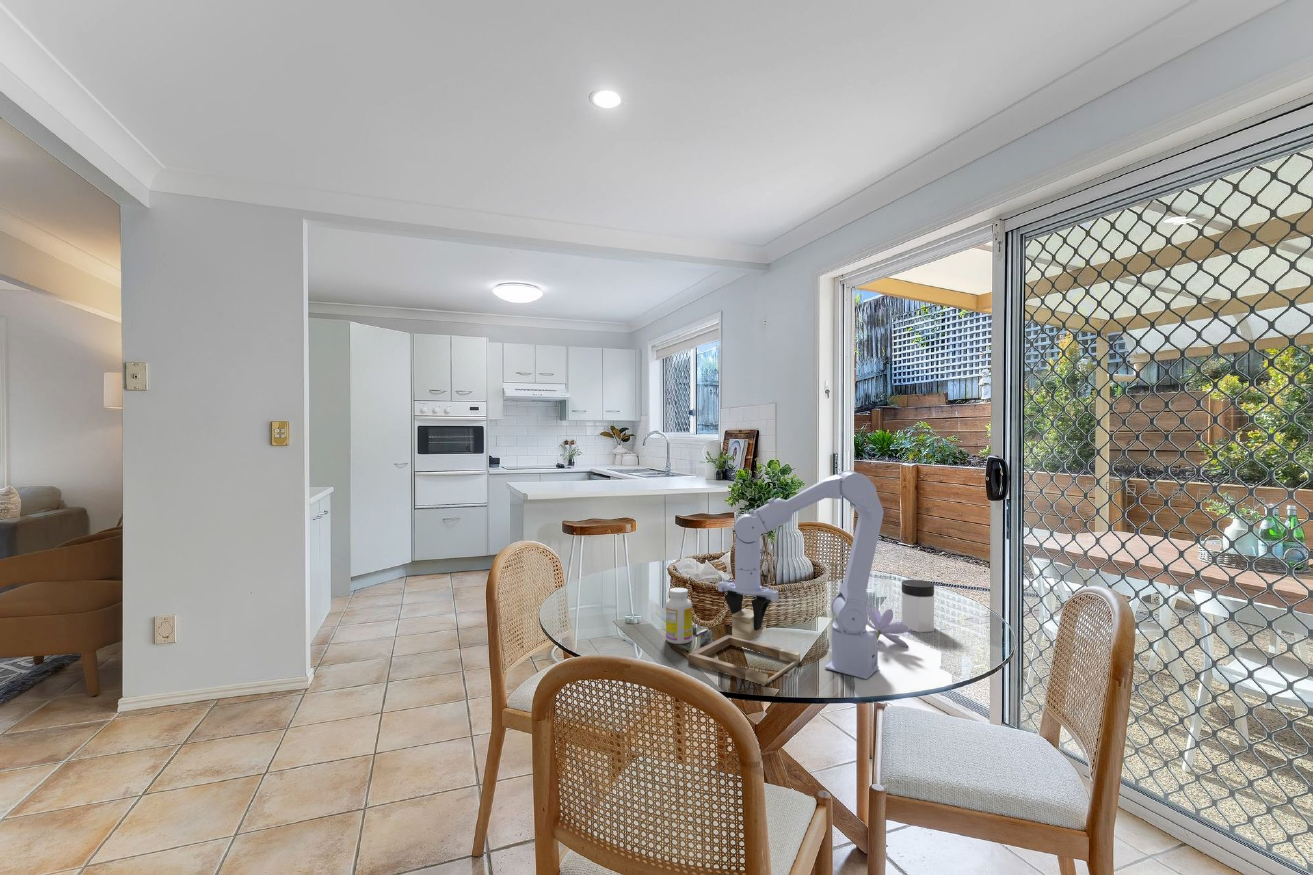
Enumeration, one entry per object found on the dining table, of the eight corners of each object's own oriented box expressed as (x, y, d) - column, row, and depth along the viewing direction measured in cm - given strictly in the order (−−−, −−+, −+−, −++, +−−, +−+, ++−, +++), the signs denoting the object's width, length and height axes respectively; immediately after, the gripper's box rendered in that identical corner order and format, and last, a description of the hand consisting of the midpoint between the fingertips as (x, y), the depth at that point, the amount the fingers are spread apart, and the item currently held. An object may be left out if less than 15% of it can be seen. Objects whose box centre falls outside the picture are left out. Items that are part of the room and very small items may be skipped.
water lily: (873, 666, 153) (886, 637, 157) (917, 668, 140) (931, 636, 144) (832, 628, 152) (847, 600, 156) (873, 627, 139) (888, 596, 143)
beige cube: (762, 633, 138) (762, 611, 138) (749, 641, 133) (749, 618, 133) (745, 629, 141) (745, 607, 141) (731, 636, 136) (731, 614, 136)
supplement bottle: (690, 635, 155) (691, 586, 155) (693, 644, 149) (693, 593, 149) (664, 635, 155) (665, 586, 155) (666, 645, 149) (666, 593, 148)
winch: (704, 641, 151) (704, 619, 151) (714, 643, 149) (714, 622, 149) (688, 649, 146) (688, 627, 146) (698, 652, 144) (698, 629, 144)
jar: (940, 628, 162) (941, 584, 162) (926, 635, 157) (926, 589, 156) (909, 620, 169) (909, 577, 169) (893, 626, 164) (894, 582, 163)
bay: (800, 661, 138) (800, 653, 138) (764, 686, 125) (764, 676, 125) (727, 642, 151) (727, 634, 151) (688, 662, 137) (688, 654, 137)
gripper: (784, 568, 136) (784, 628, 136) (728, 560, 145) (728, 616, 145) (770, 574, 130) (770, 637, 131) (713, 565, 139) (713, 624, 139)
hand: (747, 626), depth 137 cm, fingers closed on beige cube, 4 cm apart
